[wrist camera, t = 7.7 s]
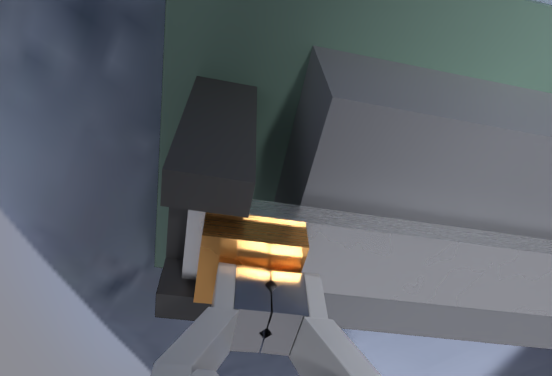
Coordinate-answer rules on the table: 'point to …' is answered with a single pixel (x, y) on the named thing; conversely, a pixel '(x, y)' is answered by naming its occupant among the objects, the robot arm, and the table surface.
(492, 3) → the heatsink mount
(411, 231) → the strap
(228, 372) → the table surface
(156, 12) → the table surface
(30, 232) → the table surface
